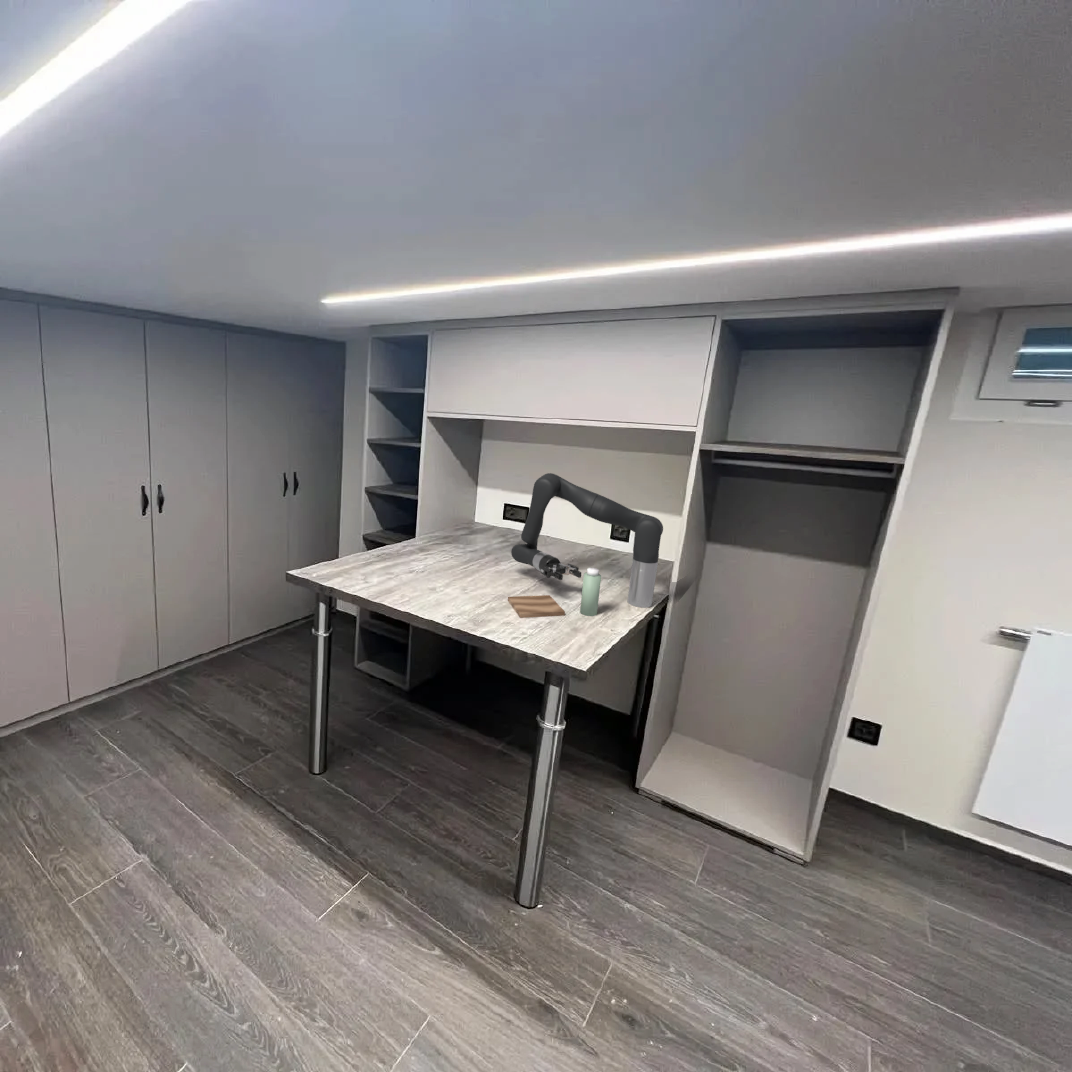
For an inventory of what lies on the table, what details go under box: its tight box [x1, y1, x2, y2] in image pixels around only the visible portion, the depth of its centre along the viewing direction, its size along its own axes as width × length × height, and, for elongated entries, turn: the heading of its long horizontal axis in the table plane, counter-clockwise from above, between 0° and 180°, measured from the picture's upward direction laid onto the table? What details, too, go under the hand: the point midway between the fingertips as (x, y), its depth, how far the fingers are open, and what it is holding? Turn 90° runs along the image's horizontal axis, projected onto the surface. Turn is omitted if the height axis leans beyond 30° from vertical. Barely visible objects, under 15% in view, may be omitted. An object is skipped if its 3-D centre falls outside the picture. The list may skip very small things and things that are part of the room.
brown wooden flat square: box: [507, 594, 566, 619], centre depth 177 cm, size 16×16×2 cm
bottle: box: [579, 567, 602, 617], centre depth 175 cm, size 6×6×16 cm
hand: (571, 576), depth 183 cm, fingers open, 8 cm apart
